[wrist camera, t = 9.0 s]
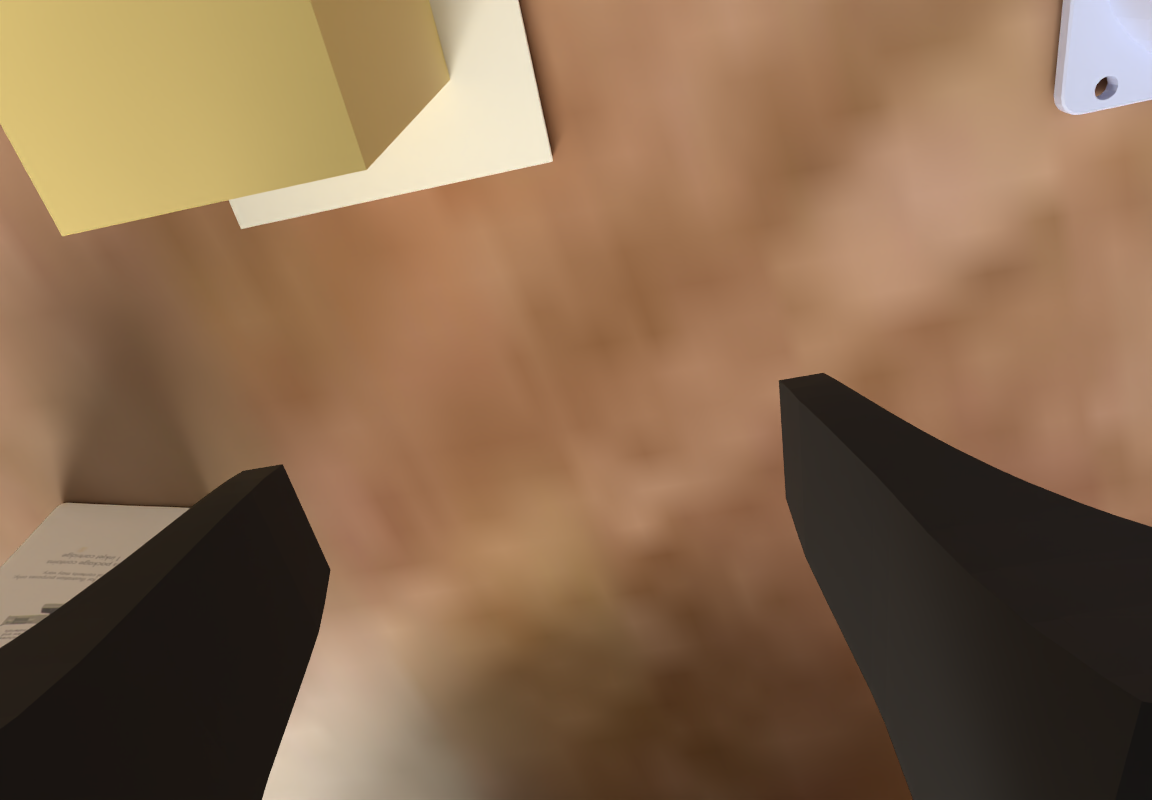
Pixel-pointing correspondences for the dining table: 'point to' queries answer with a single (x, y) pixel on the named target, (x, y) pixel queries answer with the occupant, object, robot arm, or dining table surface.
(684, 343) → the dining table surface
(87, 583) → the ink cartridge box
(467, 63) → the mat
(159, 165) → the block
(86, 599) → the robot arm
